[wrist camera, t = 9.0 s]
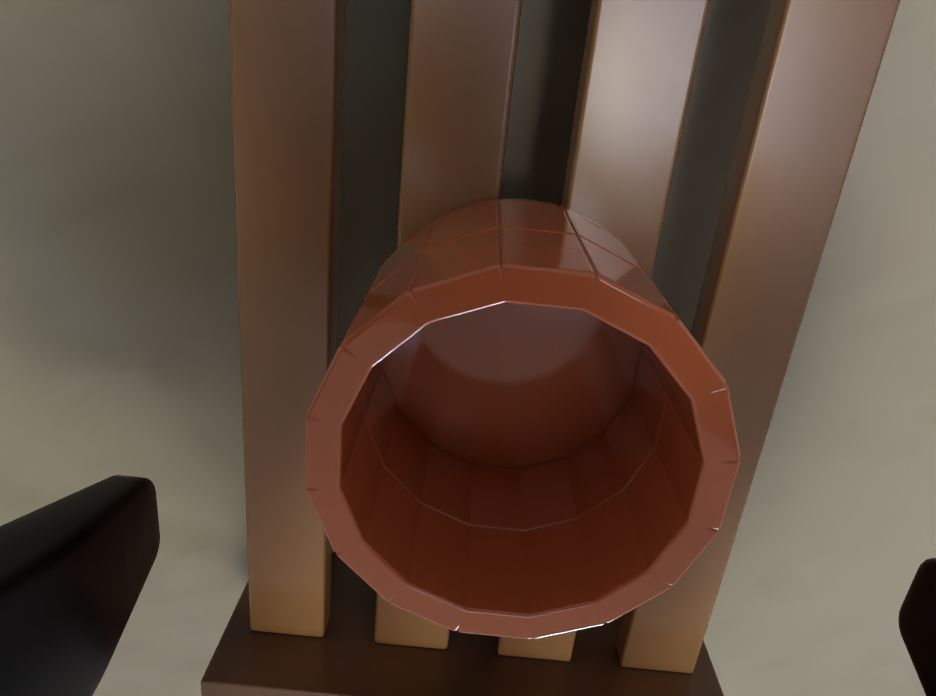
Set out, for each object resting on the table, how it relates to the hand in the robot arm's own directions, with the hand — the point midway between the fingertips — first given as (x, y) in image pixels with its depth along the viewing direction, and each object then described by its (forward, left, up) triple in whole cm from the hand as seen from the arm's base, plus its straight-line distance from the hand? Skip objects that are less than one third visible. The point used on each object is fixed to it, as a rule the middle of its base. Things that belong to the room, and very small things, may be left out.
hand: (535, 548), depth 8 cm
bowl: (0, 0, -6) cm, 6 cm away
